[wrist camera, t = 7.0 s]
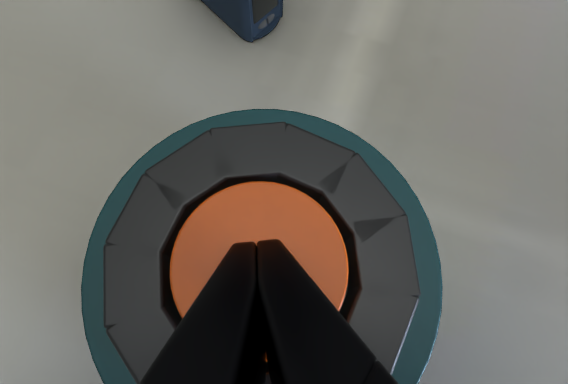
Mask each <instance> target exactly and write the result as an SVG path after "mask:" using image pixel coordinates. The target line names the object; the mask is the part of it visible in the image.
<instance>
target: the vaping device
mask: <svg viewBox="0 0 568 384" xmlns="http://www.w3.org/2000/svg"><path fill="white" fill-rule="evenodd" d="M202 1H203V2H204V3H205V4H206V5H207V6H208V7H209V8H210V9H211V10H212V11H214V12H215V13H216V14H217V15H218V16H219V17H220V18H221V19H222V20H223V21H224V22H225V23H226V24H227V25H229V26H230V27H231V28H232V29H233V30H234V31H235V32H236V33H237V34H238V35H239V36H240V37H242V38H243V39H244V40H246V41H250V42H253V40H255V39H259V38H261V37H263V36H265V35H267V34H268V33H269V32H271V31H272V30H273V29H274V28H275V26H276V25H277V23H278V21H279V19H280V17H282V15H283V0H202Z"/></svg>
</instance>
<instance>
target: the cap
mask: <svg viewBox="0 0 568 384" xmlns="http://www.w3.org/2000/svg"><path fill="white" fill-rule="evenodd" d="M252 181H267V182H275V183H280V184H284V185H287V186H290V187H293V188H296V189H298V190H299V191H301V192H303V193H305V194H307V195H308V196H310V197H311V198H313V199H314V200H315V201H316V202H318V203H319V204H320V205H321V206H322V207H323V208H324V209H325V210H326V211H327V213H328V214H329V215H330V216H331V218H332V219H333V221H334V222H335V224H336V225H337V227H338V229H339V231H340V233H341V235H342V238H343V241H344V244H345V247H346V252H347V257H348V268H349V272H348V286H349V290H348V292H347V295H346V297H345V300H344V302H343V305H342V307H341V310H340V314H341V315H342V316H343V317H344V318H345V320H346V321H347V322H348V323H349V324H350V326H351V327H352V328H353V329H354V331H355V332H356V333H357V334H358V335H359V337H360V338H361V339H362V340H363V341H364V343H365V344H366V345H367V346H368V347H369V349H370V350H371V351H372V352H373V354H374V355H375V356H376V357H377V361H380V362H381V363H382V364H383V365H384V367H385V368H386V369H387V370H388V371H389V373H390V374H391V375H392V373H393V371H394V368H395V365H396V363H397V360H398V357H399V354H400V352H401V349H402V346H403V343H404V341H405V338H406V335H407V333H408V330H409V327H410V324H411V322H412V319H413V316H414V313H415V311H416V308H417V305H418V303H419V296H420V295H421V292H420V286H419V280H418V274H417V268H416V262H415V256H414V250H413V244H412V239H411V233H410V227H409V221H408V216H407V215H406V213H405V211H404V210H403V208H402V207H401V206H400V204H399V203H398V202H397V201H396V199H395V198H394V197H393V196H392V194H391V193H390V192H389V191H388V189H387V188H386V187H385V186H384V184H383V183H382V182H381V181H380V179H379V178H378V177H377V176H376V174H375V173H374V172H373V171H372V169H371V168H370V167H369V166H368V164H367V163H366V162H365V161H364V159H363V158H362V157H361V156H360V154H358V153H355V152H354V151H353V150H351V149H349V148H346V147H344V146H341V145H339V144H337V143H334V142H332V141H330V140H327V139H325V138H323V137H320V136H318V135H316V134H313V133H311V132H309V131H306V130H304V129H301V128H299V127H297V126H294V125H292V124H289V123H287V124H286V122H273V123H262V124H251V125H240V126H228V127H217V128H210V131H209V130H207V131H205V132H204V133H202V134H200V135H199V136H197V137H196V138H194V139H193V140H191V141H190V142H188V143H187V144H185V145H183V146H182V147H180V148H179V149H177V150H176V151H174V152H173V153H171V154H170V155H168V156H167V157H165V158H163V159H162V160H160V161H159V162H157V163H156V164H154V165H153V166H151V167H150V168H148V169H146V171H145V173H143V174H142V175H141V177H140V179H139V180H138V182H137V184H136V186H135V188H134V189H133V191H132V193H131V195H130V197H129V198H128V200H127V202H126V204H125V206H124V208H123V209H122V211H121V213H120V215H119V217H118V218H117V220H116V222H115V224H114V226H113V227H112V229H111V231H110V233H109V235H108V236H107V238H106V241H105V243H106V244H105V245H104V247H103V321H104V327H105V328H107V329H106V334H107V335H108V337H109V339H110V340H111V342H112V344H113V345H114V347H115V349H116V350H117V352H118V354H119V355H120V357H121V359H122V360H123V362H124V364H125V365H126V367H127V369H128V370H129V372H130V374H131V375H132V377H133V379H134V380H135V382H136V384H139V382H140V381H141V379H142V378H143V376H144V375H145V373H146V372H147V370H148V369H149V367H150V366H151V365H152V363H153V362H154V360H155V359H156V357H157V356H158V354H159V353H160V351H161V350H162V348H163V347H164V345H165V344H166V342H167V341H168V339H169V338H170V336H171V335H172V333H173V332H174V330H175V329H176V327H177V326H178V324H179V323H180V321H181V320H182V317H181V316H180V314H179V312H178V310H177V307H176V305H175V302H174V299H173V295H172V291H171V285H170V260H171V254H172V250H173V247H174V243H175V240H176V238H177V236H178V233H179V231H180V229H181V228H182V226H183V224H184V223H185V221H186V220H187V218H188V217H189V216H190V214H191V213H192V212H193V211H194V210H195V209H196V208H197V207H198V206H199V205H200V204H201V203H202V202H203V201H205V200H206V199H207V198H209V197H210V196H212V195H213V194H215V193H217V192H219V191H220V190H223V189H225V188H227V187H230V186H233V185H236V184H240V183H245V182H252ZM265 384H271V381H270V376H269V370H268V364H266V381H265Z"/></svg>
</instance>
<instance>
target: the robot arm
mask: <svg viewBox="0 0 568 384" xmlns="http://www.w3.org/2000/svg"><path fill="white" fill-rule="evenodd" d="M266 356H267V364H268V370H269V376H270V381H271V384H399V383H398V382H397V381H396V380H395V379H394V378H393V376H392V375H391V374H390V373H389V371H388V370H387V369H386V368H385V367H384V365H383V364H382V363H381V362H380V361H377V357H376V356H375V355H374V354H373V352H372V351H371V350H370V349H369V347H368V346H367V345H366V344H365V343H364V341H363V340H362V339H361V338H360V337H359V335H358V334H357V333H356V332H355V331H354V329H353V328H352V327H351V326H350V324H349V323H348V322H347V321H346V320H345V318H344V317H343V316H342V315H341V314H340V312H339V311H338V310H337V309H336V307H335V306H334V305H333V304H332V303H331V301H330V300H329V299H328V298H327V297H326V295H325V294H324V293H323V292H322V290H321V289H320V288H319V287H318V286H317V284H316V283H315V282H314V281H313V280H312V278H311V277H310V276H309V275H308V273H307V272H306V271H305V270H304V269H303V267H302V266H301V265H300V264H299V263H298V261H297V260H296V259H295V258H294V256H293V255H292V254H291V253H290V252H289V250H288V249H287V248H286V247H285V246H284V244H283V243H282V242H281V241H280V240H279V239H270V240H260V241H258V242H257V246H256V243H255V242H253V241H250V242H239V243H234V244H233V245H232V246H231V247H230V249H229V250H228V252H227V253H226V255H225V256H224V258H223V259H222V261H221V262H220V264H219V265H218V267H217V268H216V270H215V271H214V273H213V274H212V276H211V277H210V278H209V280H208V281H207V283H206V284H205V286H204V287H203V289H202V290H201V292H200V293H199V295H198V296H197V298H196V299H195V301H194V302H193V304H192V305H191V307H190V308H189V310H188V311H187V313H186V314H185V316H184V317H183V319H182V320H181V321H180V323H179V324H178V326H177V327H176V329H175V330H174V332H173V333H172V335H171V336H170V338H169V339H168V341H167V342H166V344H165V345H164V347H163V348H162V350H161V351H160V353H159V354H158V356H157V357H156V359H155V360H154V362H153V363H152V365H151V366H150V367H149V369H148V370H147V372H146V373H145V375H144V376H143V378H142V379H141V381H140V382H139V384H265V381H266Z"/></svg>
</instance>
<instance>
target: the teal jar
mask: <svg viewBox="0 0 568 384" xmlns="http://www.w3.org/2000/svg"><path fill="white" fill-rule="evenodd" d="M273 122H286V124H287V123H289V124H292V125H294V126H297V127H299V128H301V129H304V130H306V131H309V132H311V133H313V134H316V135H318V136H320V137H323V138H325V139H327V140H330V141H332V142H334V143H337V144H339V145H341V146H344V147H346V148H349V149H351V150H353V151H354V152H355V153H358V154H360V156H361V157H362V158H363V159H364V161H365V162H366V163H367V164H368V166H369V167H370V168H371V169H372V171H373V172H374V173H375V174H376V176H377V177H378V178H379V179H380V181H381V182H382V183H383V184H384V186H385V187H386V188H387V189H388V191H389V192H390V193H391V194H392V196H393V197H394V198H395V199H396V201H397V202H398V203H399V204H400V206H401V207H402V208H403V210H404V211H405V213H406V215H407V216H408V221H409V227H410V233H411V239H412V244H413V250H414V256H415V262H416V268H417V274H418V280H419V286H420V292H421V295H420V296H419V303H418V305H417V308H416V311H415V313H414V316H413V319H412V322H411V324H410V327H409V330H408V333H407V335H406V338H405V341H404V343H403V346H402V349H401V352H400V354H399V357H398V360H397V363H396V365H395V368H394V371H393V373H392V376H393V378H394V379H395V380H396V381H397V382H398V383H399V384H418V383H419V381H420V379H421V376H422V374H423V372H424V370H425V368H426V366H427V364H428V362H429V359H430V356H431V353H432V350H433V347H434V344H435V341H436V337H437V333H438V328H439V322H440V316H441V309H442V275H441V263H440V259H439V254H438V249H437V245H436V240H435V237H434V234H433V232H432V229H431V226H430V223H429V220H428V218H427V216H426V214H425V212H424V210H423V208H422V206H421V204H420V202H419V200H418V198H417V196H416V195H415V193H414V192H413V190H412V189H411V187H410V186H409V184H408V183H407V181H406V180H405V178H404V177H403V176H402V175H401V174H400V173H399V172H398V170H397V169H396V168H395V167H394V166H393V165H392V163H391V162H390V161H389V160H387V159H386V158H385V157H384V156H383V155H382V154H381V153H380V152H379V151H377V150H376V149H375V148H374V147H373V146H371V145H370V144H368V143H367V142H366V141H364V140H363V139H361V138H360V137H359V136H357V135H355V134H354V133H352V132H350V131H348V130H346V129H344V128H342V127H340V126H339V125H336V124H334V123H331V122H329V121H326V120H323V119H321V118H318V117H315V116H311V115H307V114H303V113H299V112H293V111H286V110H278V109H251V110H242V111H233V112H229V113H225V114H220V115H216V116H212V117H209V118H207V119H204V120H201V121H199V122H196V123H193V124H191V125H189V126H187V127H185V128H183V129H181V130H179V131H177V132H175V133H173V134H171V135H170V136H169V137H167V138H166V139H164V140H163V141H161V142H160V143H158V144H157V145H155V146H154V147H153V148H151V149H150V150H149V151H148V152H147V153H146V154H145V155H143V156H142V157H141V158H140V159H139V160H138V161H137V162H136V163H135V164H134V165H133V166H132V167H131V168H130V169H129V171H128V172H127V173H126V174H125V175H124V176H123V177H122V178H121V180H120V181H119V183H118V184H117V186H116V187H115V188H114V190H113V191H112V193H111V194H110V196H109V197H108V199H107V201H106V203H105V205H104V207H103V209H102V210H101V212H100V214H99V216H98V218H97V221H96V223H95V226H94V229H93V231H92V234H91V237H90V239H89V243H88V248H87V252H86V256H85V260H84V266H83V276H82V285H81V296H82V315H83V322H84V328H85V335H86V339H87V342H88V345H89V349H90V352H91V355H92V359H93V361H94V363H95V366H96V368H97V370H98V372H99V375H100V377H101V379H102V381H103V383H104V384H136V382H135V380H134V379H133V377H132V375H131V374H130V372H129V370H128V369H127V367H126V365H125V364H124V362H123V360H122V359H121V357H120V355H119V354H118V352H117V350H116V349H115V347H114V345H113V344H112V342H111V340H110V339H109V337H108V335H107V334H106V329H107V328H105V327H104V321H103V247H104V245H105V244H106V243H105V241H106V238H107V236H108V235H109V233H110V231H111V229H112V227H113V226H114V224H115V222H116V220H117V218H118V217H119V215H120V213H121V211H122V209H123V208H124V206H125V204H126V202H127V200H128V198H129V197H130V195H131V193H132V191H133V189H134V188H135V186H136V184H137V182H138V180H139V179H140V177H141V175H142V174H143V173H145V171H146V169H148V168H150V167H151V166H153V165H154V164H156V163H157V162H159V161H160V160H162V159H163V158H165V157H167V156H168V155H170V154H171V153H173V152H174V151H176V150H177V149H179V148H180V147H182V146H183V145H185V144H187V143H188V142H190V141H191V140H193V139H194V138H196V137H197V136H199V135H200V134H202V133H204V132H205V131H207V130H209V131H210V128H217V127H228V126H240V125H251V124H262V123H273ZM348 290H349V286H348V284H347V289H346V294H345V297H346V295H347V292H348ZM345 297H344V300H345ZM344 300H343V302H344ZM342 305H343V303H342ZM341 307H342V306H341ZM340 310H341V308H340ZM340 310H339V312H340ZM266 364H267V362H266Z"/></svg>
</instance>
